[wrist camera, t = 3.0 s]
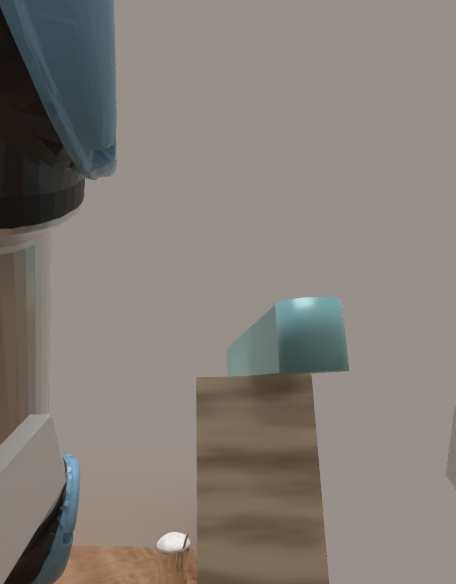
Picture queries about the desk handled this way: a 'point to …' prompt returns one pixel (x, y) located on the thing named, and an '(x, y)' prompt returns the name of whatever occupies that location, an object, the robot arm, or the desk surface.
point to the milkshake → (173, 558)
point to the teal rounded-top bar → (292, 340)
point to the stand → (258, 482)
